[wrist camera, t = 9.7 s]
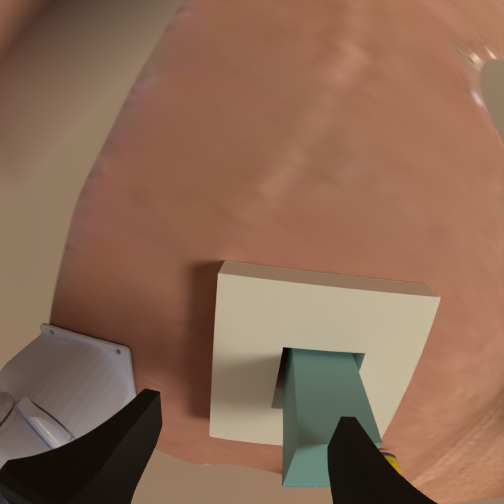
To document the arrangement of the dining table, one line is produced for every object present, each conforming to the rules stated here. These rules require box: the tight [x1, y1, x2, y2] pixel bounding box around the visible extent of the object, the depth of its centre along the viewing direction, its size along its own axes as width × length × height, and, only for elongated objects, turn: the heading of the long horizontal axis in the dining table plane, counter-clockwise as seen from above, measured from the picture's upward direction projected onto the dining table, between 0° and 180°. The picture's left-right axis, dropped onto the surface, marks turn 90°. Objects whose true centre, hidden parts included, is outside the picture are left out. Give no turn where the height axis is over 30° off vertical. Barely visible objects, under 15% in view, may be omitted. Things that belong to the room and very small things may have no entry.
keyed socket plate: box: [210, 260, 441, 445], centre depth 20 cm, size 14×14×2 cm
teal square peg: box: [282, 348, 382, 487], centre depth 17 cm, size 4×4×10 cm
